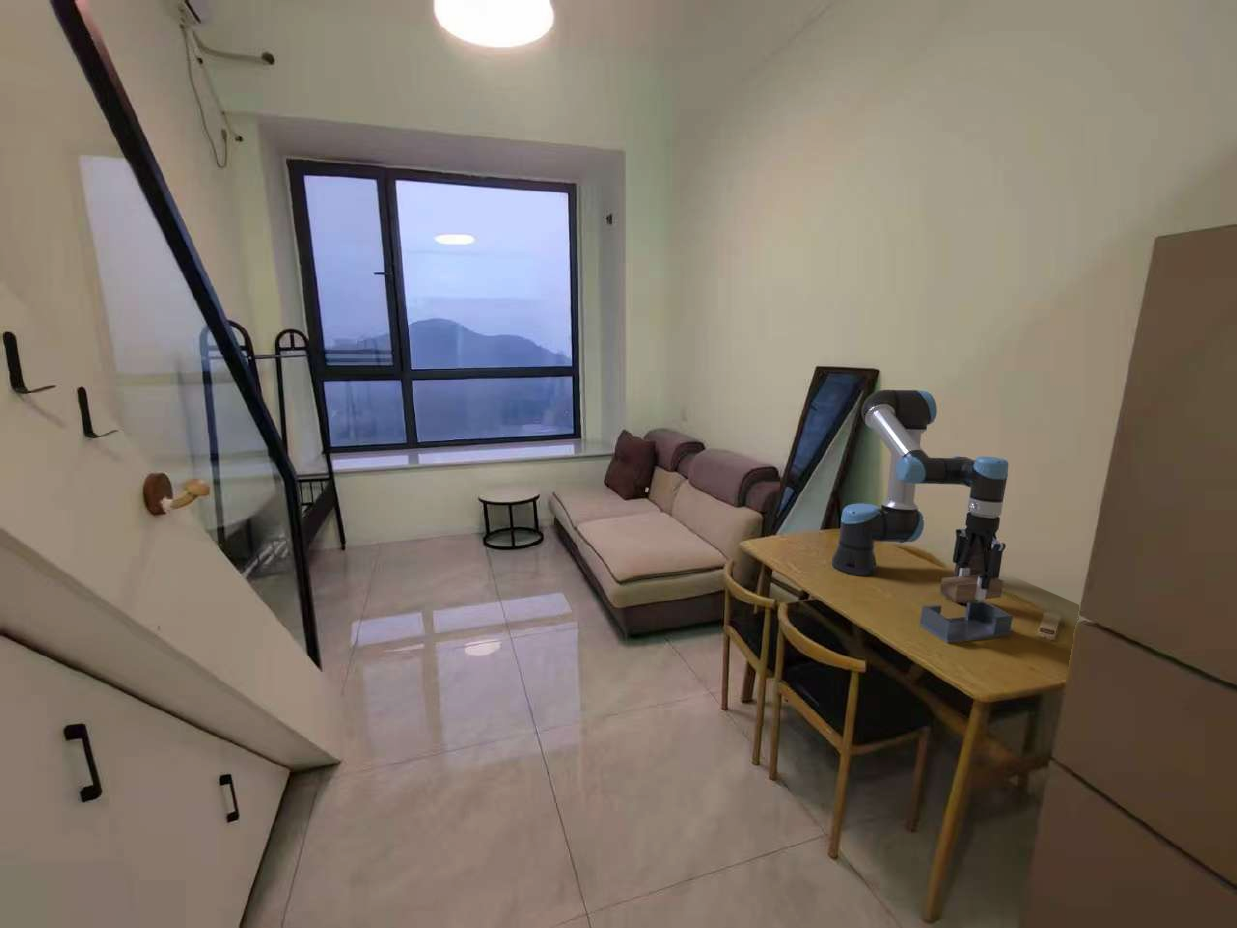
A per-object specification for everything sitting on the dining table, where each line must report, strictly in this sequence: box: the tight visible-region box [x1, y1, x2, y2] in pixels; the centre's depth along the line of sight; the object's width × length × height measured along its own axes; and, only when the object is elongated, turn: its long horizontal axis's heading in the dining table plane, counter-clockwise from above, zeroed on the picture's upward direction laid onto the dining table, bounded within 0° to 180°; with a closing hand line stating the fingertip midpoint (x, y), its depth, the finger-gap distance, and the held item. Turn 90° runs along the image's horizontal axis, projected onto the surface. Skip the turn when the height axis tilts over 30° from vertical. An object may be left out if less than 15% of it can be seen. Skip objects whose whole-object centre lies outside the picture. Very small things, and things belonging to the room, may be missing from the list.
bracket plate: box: [918, 599, 1014, 644], centre depth 150 cm, size 10×21×6 cm, turn 103°
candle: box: [953, 548, 981, 605], centre depth 166 cm, size 8×7×20 cm
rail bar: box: [939, 574, 1004, 603], centre depth 148 cm, size 5×16×5 cm, turn 105°
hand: (970, 594), depth 148 cm, fingers closed on rail bar, 5 cm apart
